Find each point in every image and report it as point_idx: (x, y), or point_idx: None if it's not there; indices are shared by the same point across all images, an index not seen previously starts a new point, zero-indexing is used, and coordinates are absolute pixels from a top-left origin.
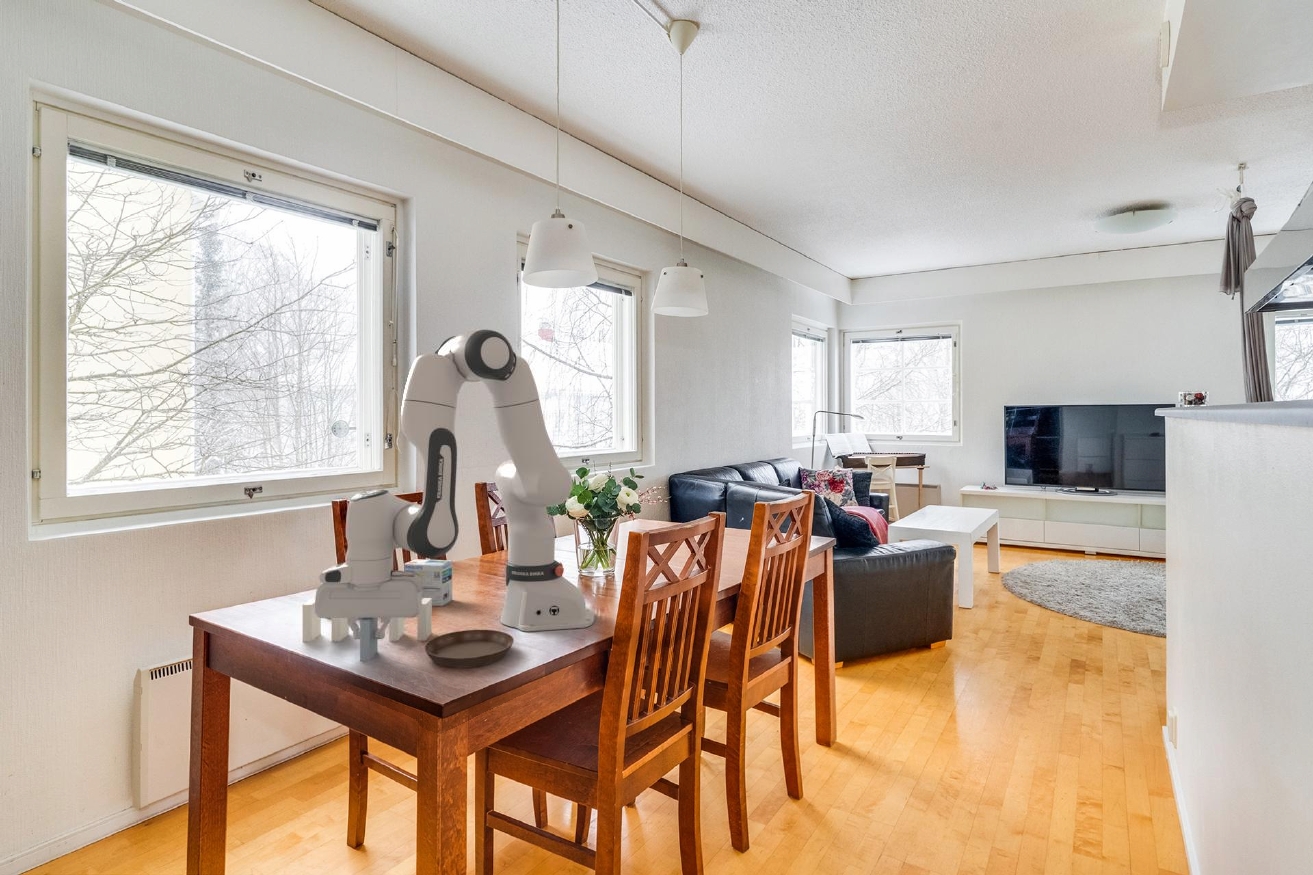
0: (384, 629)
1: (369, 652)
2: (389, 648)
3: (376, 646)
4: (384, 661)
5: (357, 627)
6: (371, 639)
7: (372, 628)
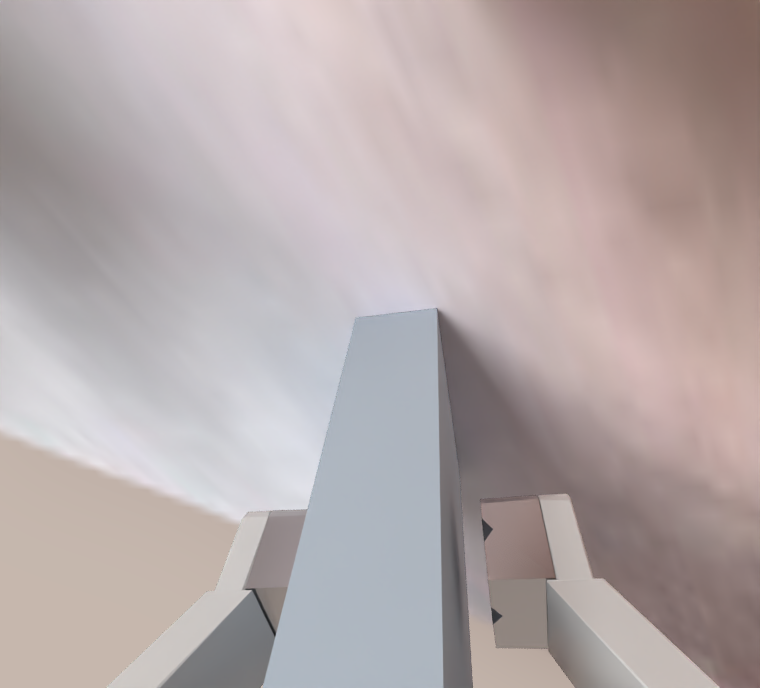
0: (590, 579)
1: (462, 523)
2: (516, 200)
3: (440, 368)
4: (580, 480)
5: (245, 638)
6: (462, 577)
7: (465, 675)
